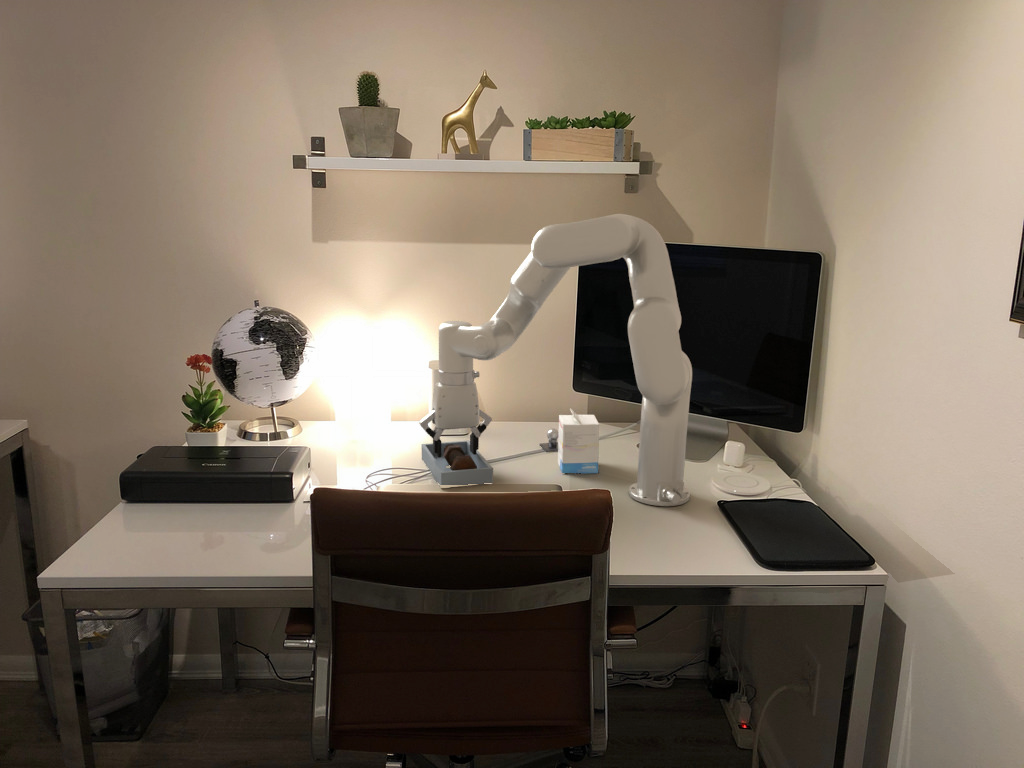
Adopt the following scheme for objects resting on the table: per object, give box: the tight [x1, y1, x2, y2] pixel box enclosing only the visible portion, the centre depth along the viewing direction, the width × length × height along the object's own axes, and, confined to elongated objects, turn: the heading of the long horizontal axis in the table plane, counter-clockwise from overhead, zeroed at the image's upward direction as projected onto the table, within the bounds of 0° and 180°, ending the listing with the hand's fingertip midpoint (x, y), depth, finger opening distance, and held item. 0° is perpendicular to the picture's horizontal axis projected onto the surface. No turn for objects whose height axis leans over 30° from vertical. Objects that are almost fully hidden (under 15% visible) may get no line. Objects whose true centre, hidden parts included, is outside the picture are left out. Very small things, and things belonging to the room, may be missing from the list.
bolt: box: [443, 444, 477, 471], centre depth 186 cm, size 6×5×15 cm
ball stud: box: [539, 428, 559, 453], centre depth 204 cm, size 5×5×5 cm
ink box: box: [557, 408, 600, 475], centre depth 189 cm, size 9×8×13 cm
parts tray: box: [421, 439, 494, 485], centre depth 187 cm, size 20×11×4 cm, turn 18°
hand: (455, 453), depth 186 cm, fingers open, 7 cm apart
